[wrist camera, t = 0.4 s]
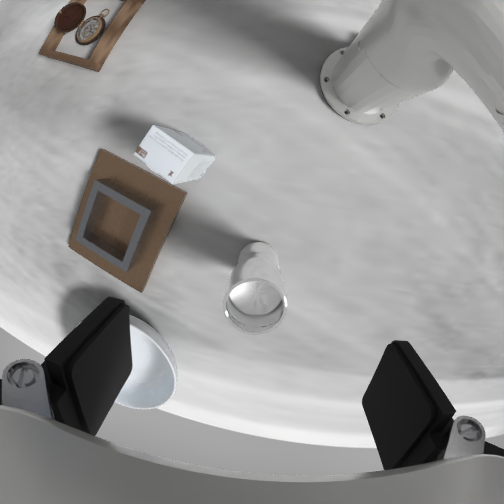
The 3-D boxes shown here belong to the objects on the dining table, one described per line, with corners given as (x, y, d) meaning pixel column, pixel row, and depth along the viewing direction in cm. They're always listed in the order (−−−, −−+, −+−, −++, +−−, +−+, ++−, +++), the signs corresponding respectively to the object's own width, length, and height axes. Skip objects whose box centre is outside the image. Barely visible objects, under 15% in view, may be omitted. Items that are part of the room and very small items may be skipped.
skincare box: (217, 155, 40) (198, 152, 28) (199, 180, 41) (173, 187, 29) (184, 132, 39) (154, 120, 27) (166, 156, 40) (131, 155, 28)
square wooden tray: (88, -9, 30) (81, -14, 27) (146, -1, 32) (140, -9, 29) (47, 57, 34) (38, 53, 31) (98, 72, 36) (89, 67, 33)
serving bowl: (176, 399, 53) (168, 423, 47) (88, 364, 53) (74, 383, 46) (194, 321, 47) (184, 344, 41) (88, 282, 47) (68, 298, 40)
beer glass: (232, 278, 45) (217, 330, 30) (238, 234, 43) (225, 270, 28) (277, 286, 45) (281, 340, 30) (285, 242, 43) (295, 282, 28)
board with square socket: (104, 149, 40) (90, 149, 36) (187, 192, 41) (179, 195, 37) (71, 245, 45) (58, 251, 41) (143, 290, 46) (134, 300, 42)
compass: (89, 50, 34) (66, 39, 28) (69, 35, 33) (47, 24, 26) (120, 16, 33) (100, 0, 26) (97, 3, 31) (78, -12, 24)
